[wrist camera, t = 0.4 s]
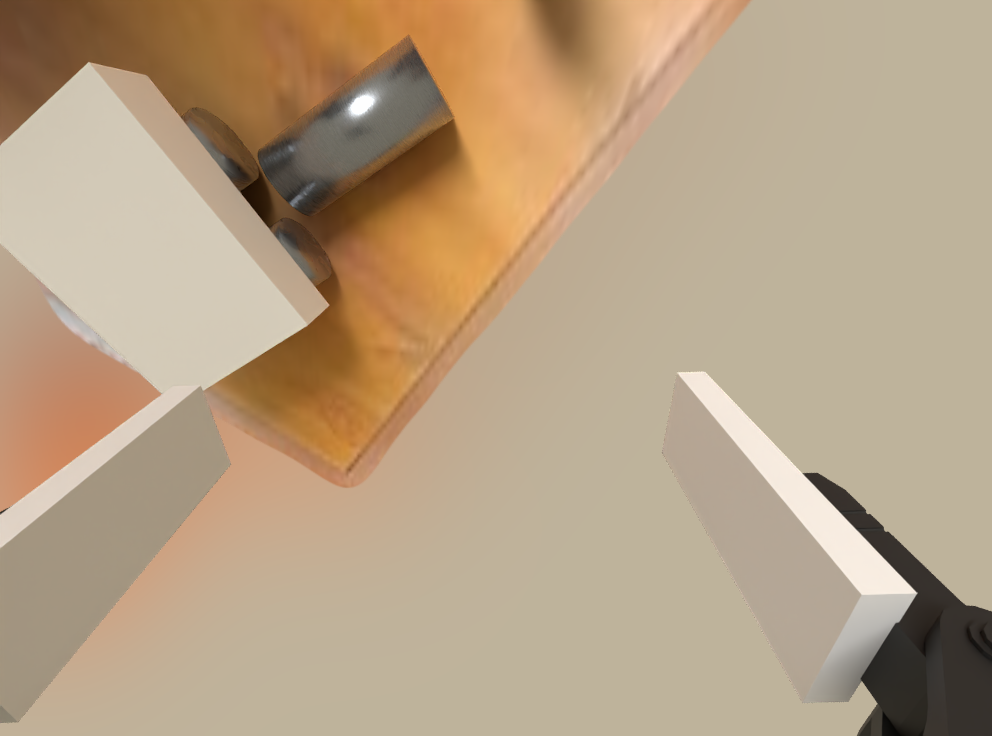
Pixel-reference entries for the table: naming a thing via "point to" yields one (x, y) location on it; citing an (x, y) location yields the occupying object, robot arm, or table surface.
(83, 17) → the table surface
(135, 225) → the slab
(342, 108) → the roller
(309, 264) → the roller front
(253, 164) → the cylinder
